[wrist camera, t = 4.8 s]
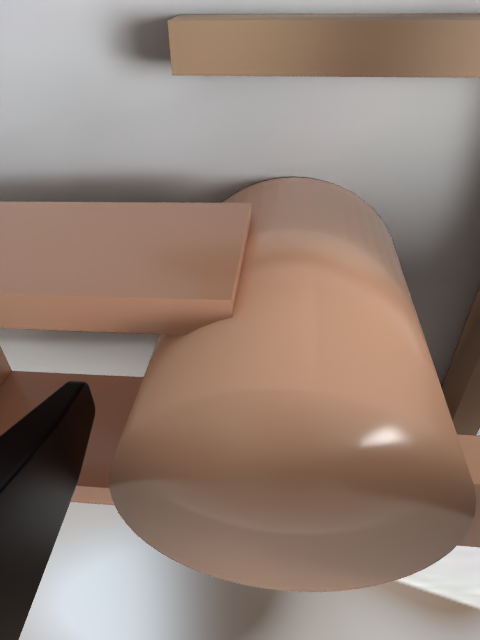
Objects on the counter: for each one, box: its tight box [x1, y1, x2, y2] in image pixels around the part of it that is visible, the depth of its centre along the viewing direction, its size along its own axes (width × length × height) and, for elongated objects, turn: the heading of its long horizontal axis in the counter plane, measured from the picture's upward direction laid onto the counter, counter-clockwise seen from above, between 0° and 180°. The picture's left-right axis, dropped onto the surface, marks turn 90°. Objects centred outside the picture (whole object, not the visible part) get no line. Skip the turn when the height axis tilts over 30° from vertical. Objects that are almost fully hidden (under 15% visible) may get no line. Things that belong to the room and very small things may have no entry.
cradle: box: [167, 14, 480, 436], centre depth 14 cm, size 10×14×2 cm
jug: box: [0, 177, 480, 592], centre depth 12 cm, size 14×7×8 cm, turn 92°
